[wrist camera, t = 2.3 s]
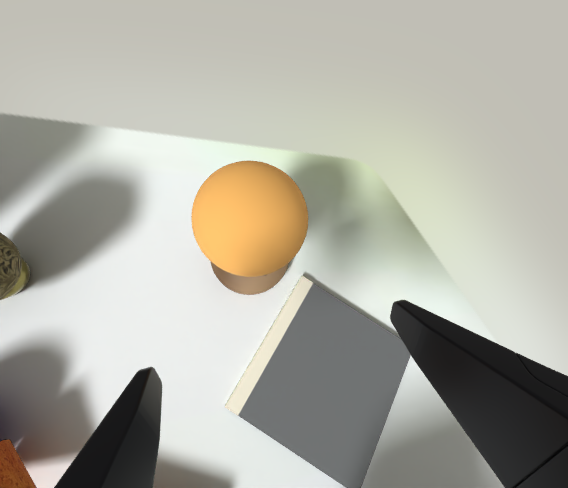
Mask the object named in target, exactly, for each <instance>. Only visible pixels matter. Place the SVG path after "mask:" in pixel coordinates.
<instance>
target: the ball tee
mask: <svg viewBox="0 0 568 488" xmlns="http://www.w3.org/2000/svg"><path fill="white" fill-rule="evenodd" d="M211 265H212V268H213V271H214V273H215V275H216V277H217V278H218V279H219V280H220V282H221V283H222V284H223V285H224V286H226V287H227V288H228V289H230V290H232V291H234V292H237V293H240V294H246V295H254V294H259V293H262V292H265V291H267V290H269V289H271V288H272V287H273V286H275V285H276V284H277V283H278V282H279V281H280V280H281V278H282V277H283V275H284V274H285V272H286V269H287V267H288V263H287V264H286V265H285V266H284V267H282V268H280V269H279V270H277V271H275V272H272V273H270V274H267V275H263V276H256V277H245V276H239V275H235V274H231V273H229V272H226V271H224V270H222V269H221V268H219V267H218V266H216V265H215V264H214V263H212V262H211Z"/></svg>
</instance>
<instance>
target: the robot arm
mask: <svg viewBox="0 0 568 488" xmlns="http://www.w3.org/2000/svg"><path fill="white" fill-rule="evenodd" d="M390 319H391V322H392V324H393V325H394V327H395V329H396V330H397V332H398V334H399V336H400V337H401V339H402V341H403V343H404V344H405V346H406V348H407V349H408V351H409V353H410V354H411V356H412V358H413V359H414V360H415V362H416V363H417V365H418V366H419V368H420V369H421V370H422V372H423V373H424V375H425V376H426V377H427V379H428V380H429V382H430V383H431V384H432V386H433V387H434V389H435V390H436V391H437V393H438V394H439V396H440V397H441V398H442V400H443V401H444V403H445V404H446V405H447V407H448V408H449V410H450V411H451V412H452V414H453V415H454V417H455V418H456V419H457V421H458V422H459V424H460V425H461V426H462V428H463V429H464V431H465V432H466V433H467V435H468V436H469V438H470V439H471V440H472V442H473V443H474V445H475V446H476V447H477V449H478V450H479V452H480V453H481V455H482V456H483V457H484V459H485V460H486V462H487V463H488V464H489V466H490V467H491V469H492V470H493V471H494V473H495V474H496V476H497V477H498V478H499V480H500V481H501V483H502V484H503V485H504V487H505V488H568V376H566V375H564V374H562V373H559V372H556V371H555V370H552V369H550V368H548V367H546V366H544V365H541V364H539V363H537V362H535V361H533V360H530V359H528V358H526V357H524V356H522V355H520V354H518V353H515V352H513V351H511V350H509V349H507V348H505V347H503V346H501V345H499V344H497V343H495V342H492V341H490V340H488V339H486V338H484V337H482V336H480V335H478V334H476V333H473V332H471V331H469V330H467V329H465V328H463V327H461V326H459V325H457V324H454V323H452V322H450V321H448V320H446V319H444V318H442V317H440V316H438V315H435V314H433V313H431V312H429V311H427V310H425V309H423V308H421V307H419V306H416V305H414V304H412V303H410V302H408V301H406V300H399V301H396V302H394V303H393V306H392V310H391V315H390ZM161 401H162V382H161V379H160V378H159V376H158V374H157V372H156V371H155V369H154V368H153V367H148V368H145V369H141V370H139V371H138V372H137V373H136V374H135V376H134V377H133V378H132V380H131V381H130V383H129V384H128V385H127V387H126V388H125V390H124V391H123V392H122V394H121V395H120V397H119V398H118V399H117V401H116V402H115V404H114V405H113V406H112V408H111V409H110V411H109V412H108V413H107V415H106V416H105V417H104V419H103V420H102V422H101V423H100V424H99V426H98V427H97V429H96V430H95V431H94V433H93V434H92V436H91V437H90V438H89V440H88V441H87V443H86V444H85V445H84V447H83V448H82V450H81V451H80V452H79V454H78V455H77V457H76V458H75V459H74V461H73V462H72V463H71V465H70V466H69V468H68V469H67V470H66V472H65V473H64V475H63V476H62V477H61V479H60V480H59V482H58V483H57V484H56V486H55V487H54V488H153V482H154V475H155V468H156V461H157V455H158V448H159V440H160V423H161Z"/></svg>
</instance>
